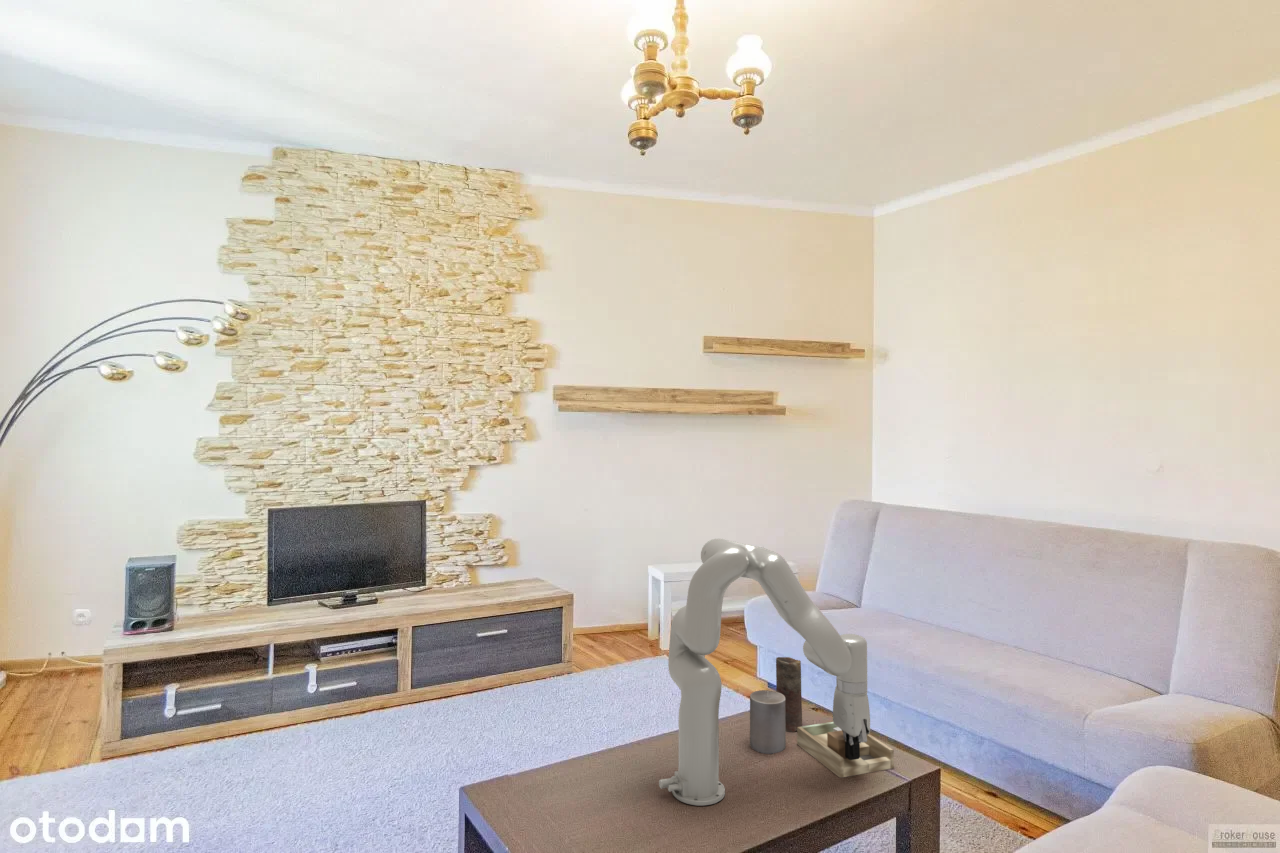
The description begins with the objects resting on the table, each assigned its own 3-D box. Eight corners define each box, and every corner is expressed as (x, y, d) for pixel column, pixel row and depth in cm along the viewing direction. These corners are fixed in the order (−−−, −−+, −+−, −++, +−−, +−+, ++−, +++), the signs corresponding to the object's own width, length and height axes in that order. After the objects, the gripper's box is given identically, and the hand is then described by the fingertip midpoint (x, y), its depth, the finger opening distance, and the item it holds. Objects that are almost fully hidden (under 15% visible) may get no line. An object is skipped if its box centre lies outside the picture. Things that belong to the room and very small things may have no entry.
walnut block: (838, 760, 181) (838, 740, 181) (827, 751, 185) (827, 732, 185) (855, 757, 182) (855, 737, 182) (843, 749, 187) (843, 730, 187)
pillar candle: (753, 736, 200) (753, 683, 200) (788, 741, 197) (787, 687, 197) (746, 751, 191) (746, 696, 191) (783, 756, 188) (783, 700, 188)
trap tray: (840, 779, 176) (840, 758, 176) (797, 745, 195) (797, 727, 195) (893, 769, 181) (893, 749, 181) (846, 737, 200) (846, 719, 200)
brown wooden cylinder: (772, 723, 210) (772, 655, 210) (795, 721, 211) (795, 654, 211) (782, 734, 202) (782, 663, 202) (806, 732, 203) (806, 662, 204)
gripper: (822, 677, 185) (823, 747, 185) (856, 697, 171) (857, 774, 171) (847, 674, 187) (847, 743, 187) (883, 693, 173) (883, 769, 173)
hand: (852, 757), depth 179 cm, fingers closed
